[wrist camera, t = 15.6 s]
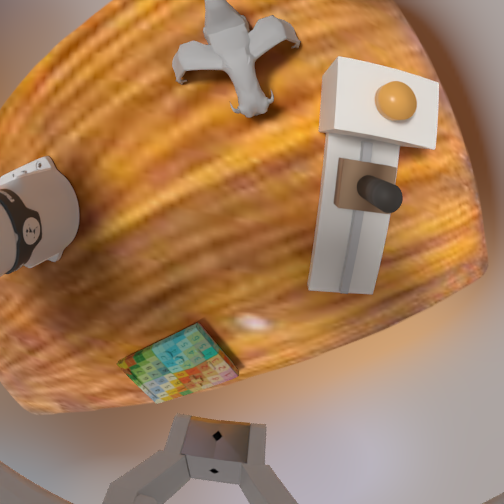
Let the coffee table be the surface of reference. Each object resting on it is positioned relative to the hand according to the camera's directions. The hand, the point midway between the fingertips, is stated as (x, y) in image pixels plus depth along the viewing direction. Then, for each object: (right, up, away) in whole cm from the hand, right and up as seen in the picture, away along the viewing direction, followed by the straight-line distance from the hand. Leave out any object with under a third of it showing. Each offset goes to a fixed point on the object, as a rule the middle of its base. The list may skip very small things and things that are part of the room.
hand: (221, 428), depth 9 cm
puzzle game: (-13, -14, +43) cm, 47 cm away
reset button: (+15, +21, +17) cm, 31 cm away
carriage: (+15, +15, +27) cm, 35 cm away
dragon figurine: (-1, +32, +25) cm, 41 cm away
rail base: (+16, +15, +30) cm, 37 cm away
